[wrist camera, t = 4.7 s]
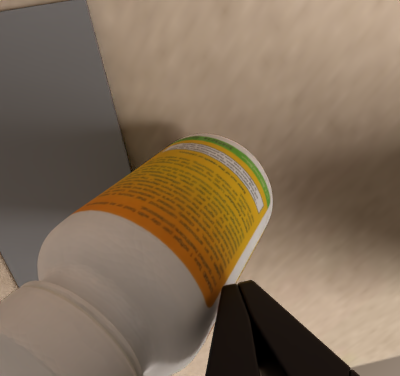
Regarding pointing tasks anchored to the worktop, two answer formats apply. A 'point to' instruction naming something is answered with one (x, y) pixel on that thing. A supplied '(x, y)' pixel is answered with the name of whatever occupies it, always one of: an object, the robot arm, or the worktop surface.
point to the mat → (51, 127)
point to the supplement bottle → (140, 267)
